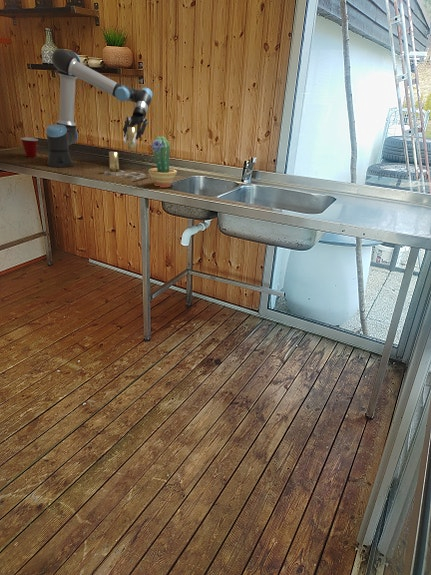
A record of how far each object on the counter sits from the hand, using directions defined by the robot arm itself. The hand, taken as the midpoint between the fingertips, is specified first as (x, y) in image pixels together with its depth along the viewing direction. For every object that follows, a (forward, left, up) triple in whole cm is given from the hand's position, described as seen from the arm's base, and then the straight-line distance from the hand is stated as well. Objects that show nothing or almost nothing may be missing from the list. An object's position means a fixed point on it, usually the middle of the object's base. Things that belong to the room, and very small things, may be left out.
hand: (129, 142), depth 234 cm
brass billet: (-1, +4, -4) cm, 5 cm away
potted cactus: (+33, -17, -18) cm, 41 cm away
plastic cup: (-83, +2, -18) cm, 85 cm away
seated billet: (-2, -13, -16) cm, 21 cm away
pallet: (+5, -13, -18) cm, 22 cm away
